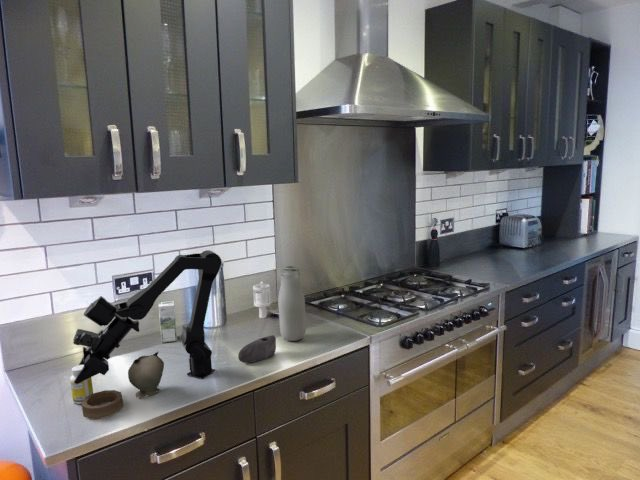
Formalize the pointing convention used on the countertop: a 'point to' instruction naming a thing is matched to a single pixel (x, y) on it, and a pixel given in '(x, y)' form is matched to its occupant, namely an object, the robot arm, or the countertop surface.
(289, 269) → the grey bottle vase
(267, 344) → the perforated stone tool
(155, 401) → the countertop surface
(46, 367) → the countertop surface
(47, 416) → the countertop surface
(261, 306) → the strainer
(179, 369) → the countertop surface
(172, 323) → the syrup box
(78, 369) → the supplement bottle
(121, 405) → the walnut ring socket
